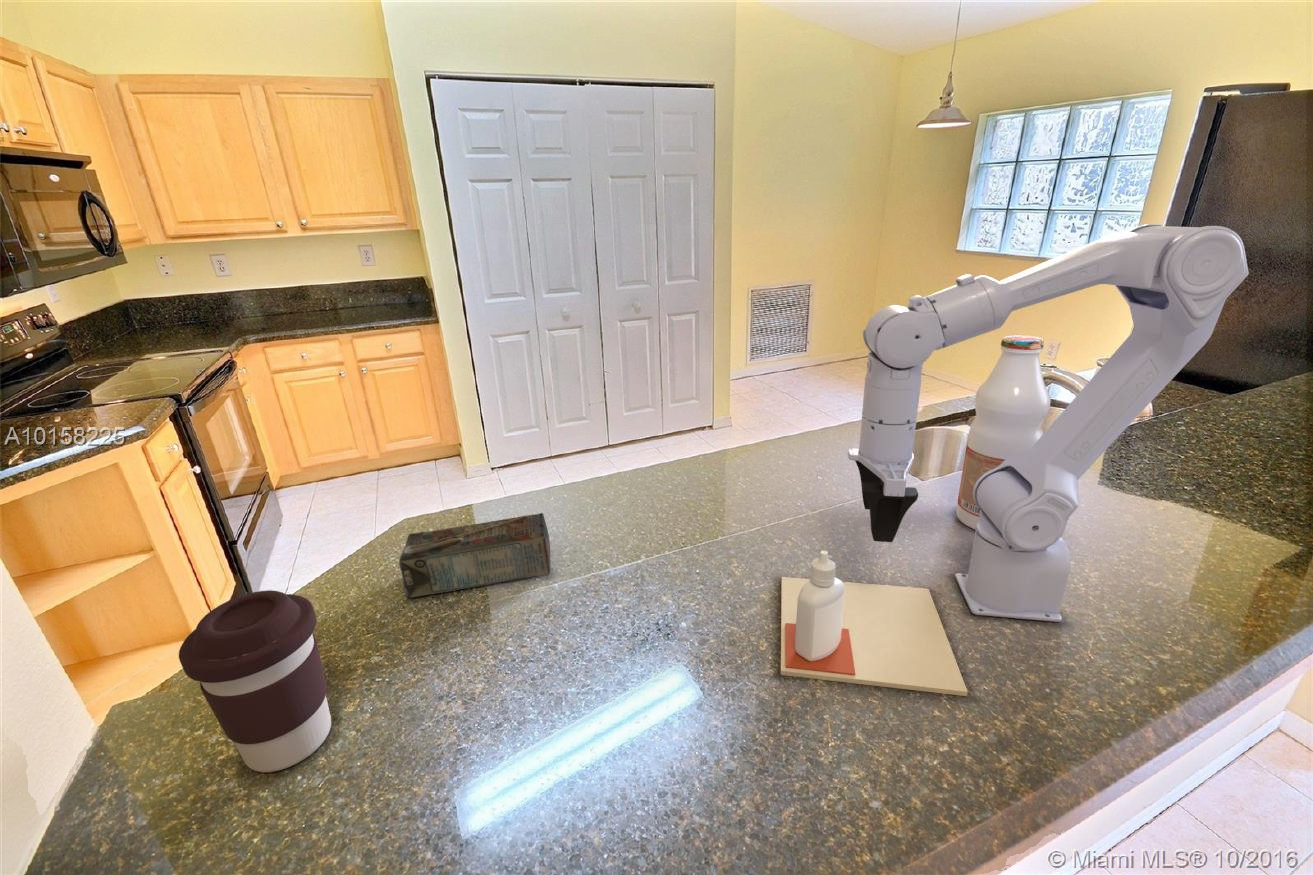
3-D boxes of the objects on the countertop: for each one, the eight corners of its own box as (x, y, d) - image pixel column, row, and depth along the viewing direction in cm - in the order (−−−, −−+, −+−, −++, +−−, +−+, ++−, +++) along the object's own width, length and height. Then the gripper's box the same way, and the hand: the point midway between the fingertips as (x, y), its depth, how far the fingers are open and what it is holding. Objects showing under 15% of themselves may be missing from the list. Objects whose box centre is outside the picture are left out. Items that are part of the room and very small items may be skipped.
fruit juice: (965, 534, 84) (997, 345, 74) (947, 504, 93) (974, 332, 83) (1036, 538, 83) (1079, 345, 73) (1011, 507, 91) (1046, 331, 81)
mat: (927, 592, 72) (928, 587, 72) (967, 696, 57) (968, 690, 57) (781, 580, 76) (781, 575, 76) (780, 675, 60) (780, 669, 60)
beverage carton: (415, 568, 83) (406, 527, 80) (550, 547, 86) (545, 507, 84) (405, 601, 75) (395, 557, 73) (553, 576, 79) (548, 534, 77)
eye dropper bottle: (851, 657, 61) (860, 560, 57) (800, 664, 61) (806, 567, 56) (833, 630, 65) (840, 538, 61) (786, 637, 65) (790, 544, 60)
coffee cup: (265, 705, 60) (219, 584, 54) (363, 696, 60) (327, 574, 55) (202, 795, 50) (140, 658, 45) (319, 782, 51) (271, 646, 46)
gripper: (845, 397, 72) (837, 494, 77) (859, 438, 59) (848, 553, 63) (905, 398, 70) (894, 497, 75) (933, 441, 57) (917, 558, 62)
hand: (877, 523), depth 69 cm, fingers open, 7 cm apart
